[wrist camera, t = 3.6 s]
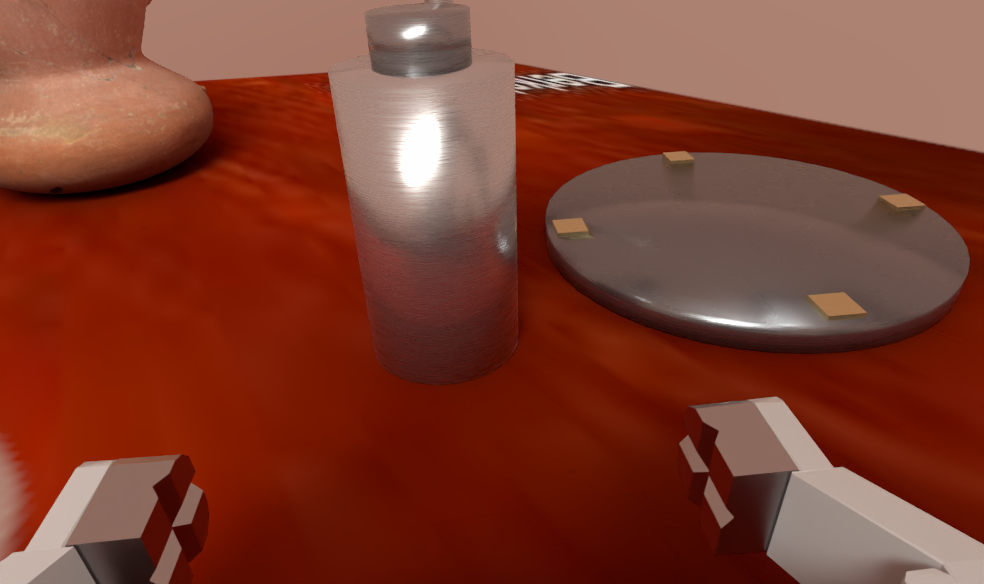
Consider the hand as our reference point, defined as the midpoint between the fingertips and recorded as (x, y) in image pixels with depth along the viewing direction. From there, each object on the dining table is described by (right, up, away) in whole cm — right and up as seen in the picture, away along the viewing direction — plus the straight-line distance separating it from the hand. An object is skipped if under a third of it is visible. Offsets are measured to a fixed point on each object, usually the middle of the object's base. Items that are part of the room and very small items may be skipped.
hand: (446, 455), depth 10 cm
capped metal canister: (-1, +1, +14) cm, 14 cm away
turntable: (+12, +5, +20) cm, 24 cm away
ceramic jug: (-25, +10, +31) cm, 41 cm away
